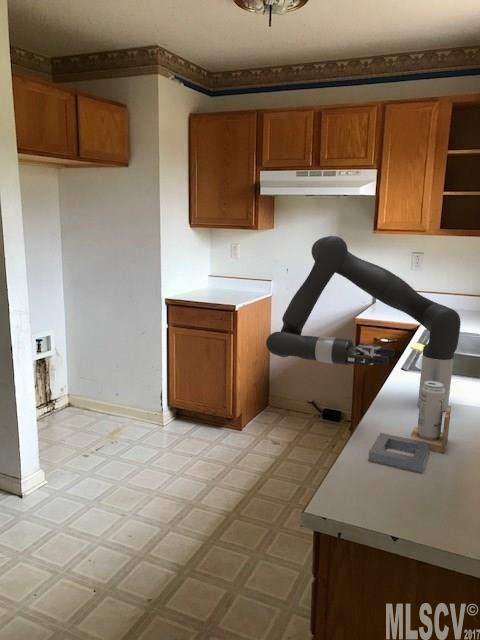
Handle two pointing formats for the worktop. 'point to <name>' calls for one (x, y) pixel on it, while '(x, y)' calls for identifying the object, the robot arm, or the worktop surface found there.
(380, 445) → the socket block
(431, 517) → the worktop surface
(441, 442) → the wooden l-shaped stand
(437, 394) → the energy drink can
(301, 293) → the robot arm
